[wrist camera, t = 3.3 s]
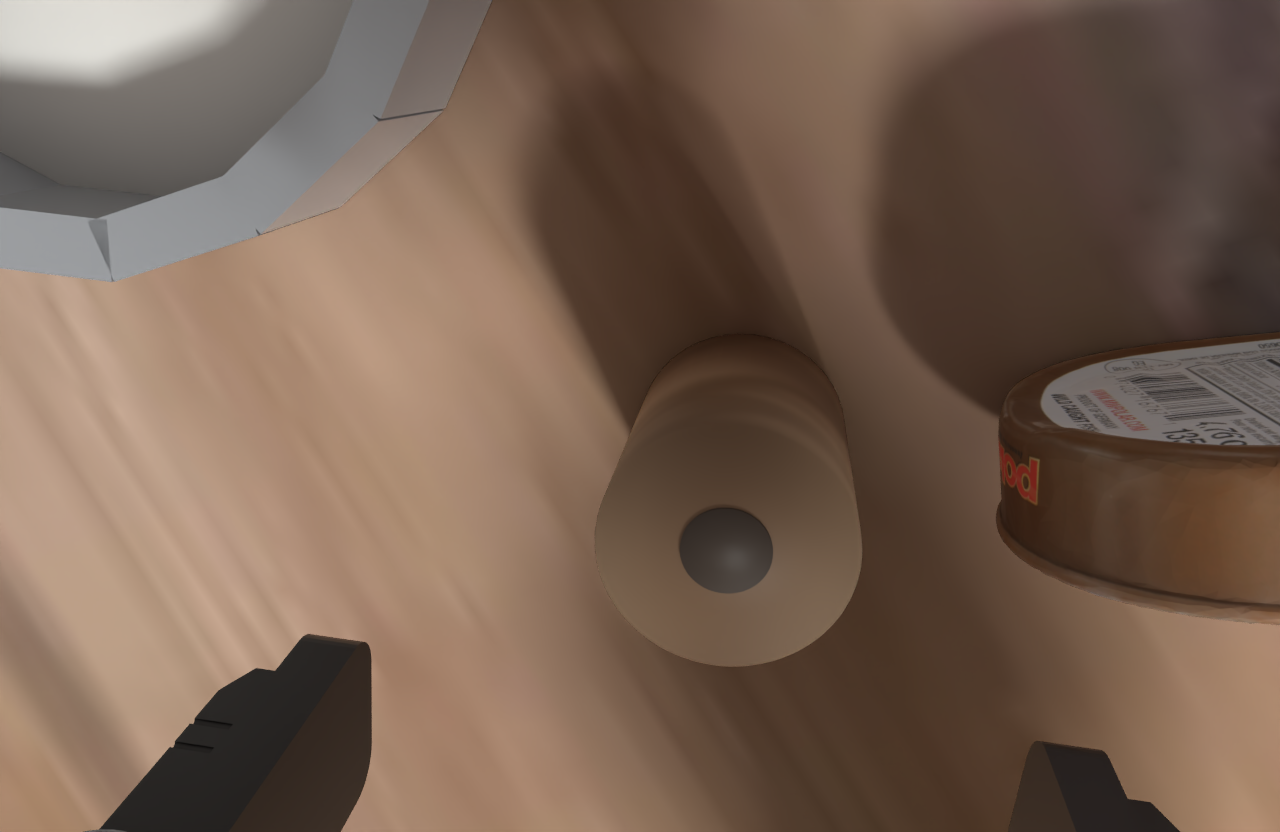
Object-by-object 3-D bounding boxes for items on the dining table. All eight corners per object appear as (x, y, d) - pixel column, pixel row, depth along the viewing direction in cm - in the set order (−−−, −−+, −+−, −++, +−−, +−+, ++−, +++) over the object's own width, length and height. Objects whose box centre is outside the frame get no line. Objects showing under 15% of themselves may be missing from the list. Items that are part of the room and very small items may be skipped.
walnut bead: (860, 347, 23) (883, 444, 17) (828, 539, 24) (840, 686, 19) (649, 321, 23) (604, 408, 18) (631, 511, 25) (584, 648, 19)
